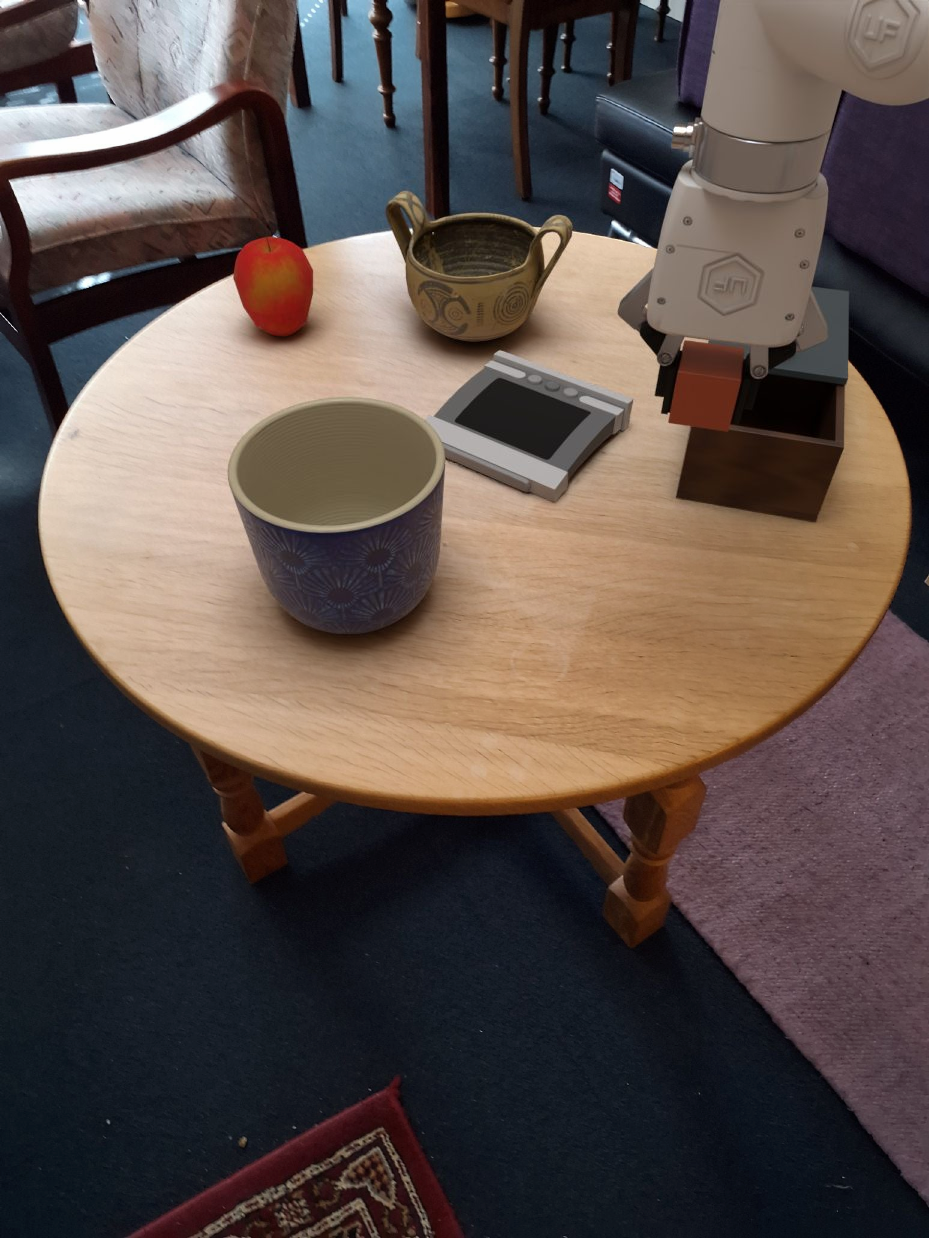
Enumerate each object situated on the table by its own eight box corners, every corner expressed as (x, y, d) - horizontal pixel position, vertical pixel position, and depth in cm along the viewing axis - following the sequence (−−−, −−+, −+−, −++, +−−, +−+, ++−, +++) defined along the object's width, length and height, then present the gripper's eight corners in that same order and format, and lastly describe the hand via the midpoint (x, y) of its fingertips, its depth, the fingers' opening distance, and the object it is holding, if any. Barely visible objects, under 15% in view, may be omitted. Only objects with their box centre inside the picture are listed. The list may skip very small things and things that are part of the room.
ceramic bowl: (582, 314, 114) (594, 194, 103) (535, 383, 104) (542, 258, 92) (424, 281, 120) (419, 164, 109) (364, 343, 110) (352, 221, 98)
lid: (846, 298, 98) (858, 261, 95) (845, 385, 87) (859, 347, 84) (720, 281, 101) (728, 246, 98) (703, 364, 89) (712, 327, 86)
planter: (377, 506, 89) (363, 372, 78) (487, 601, 80) (489, 466, 69) (226, 584, 82) (187, 449, 71) (329, 697, 73) (303, 564, 62)
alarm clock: (633, 398, 95) (555, 468, 86) (626, 436, 99) (550, 507, 89) (499, 350, 102) (413, 409, 92) (497, 386, 105) (413, 447, 96)
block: (732, 399, 68) (745, 347, 65) (728, 432, 66) (741, 380, 62) (674, 390, 69) (684, 339, 66) (667, 423, 66) (677, 371, 63)
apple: (239, 350, 109) (218, 254, 100) (253, 312, 115) (234, 218, 106) (315, 350, 109) (301, 254, 100) (325, 312, 115) (312, 219, 106)
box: (820, 419, 98) (845, 346, 92) (815, 522, 87) (844, 447, 80) (695, 400, 101) (711, 327, 94) (675, 497, 90) (691, 423, 83)
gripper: (608, 163, 53) (581, 421, 66) (909, 192, 50) (816, 456, 63) (627, 118, 58) (598, 367, 71) (902, 142, 55) (817, 397, 68)
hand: (701, 406), depth 67 cm, fingers closed on block, 4 cm apart
